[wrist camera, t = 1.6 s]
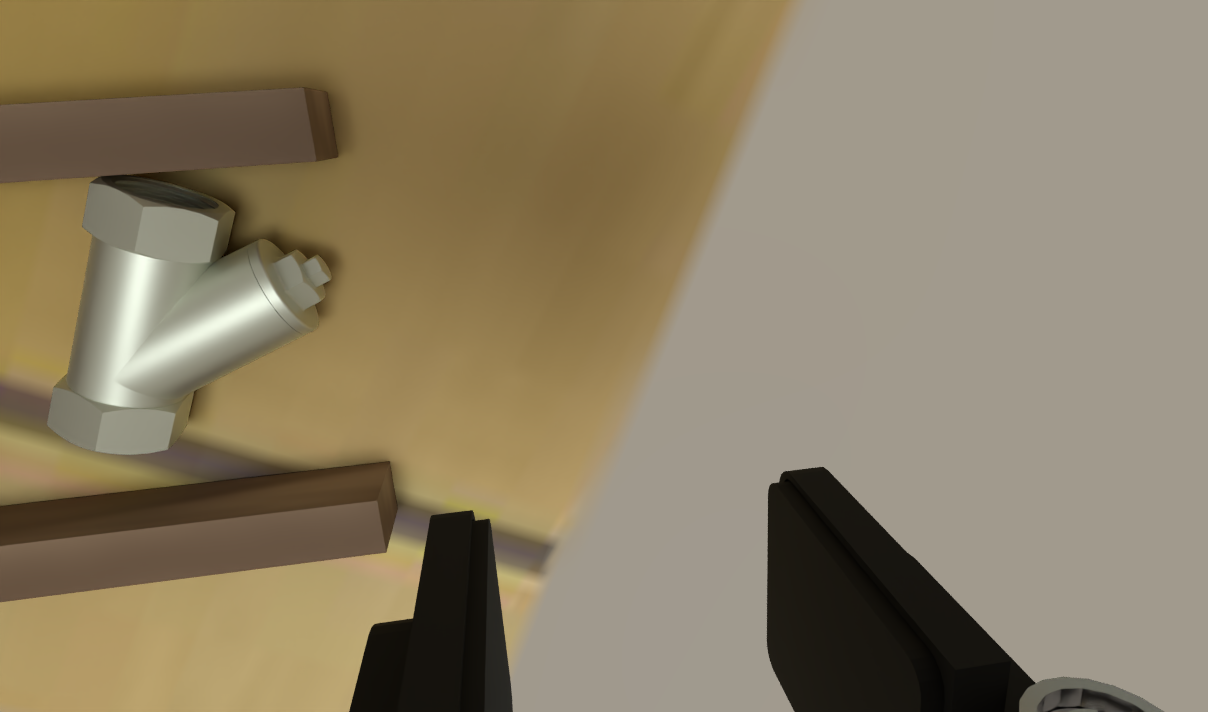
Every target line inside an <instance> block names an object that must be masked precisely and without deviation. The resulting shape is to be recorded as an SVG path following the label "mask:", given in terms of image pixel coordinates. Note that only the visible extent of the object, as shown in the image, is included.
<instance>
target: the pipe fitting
mask: <svg viewBox="0 0 1208 712" xmlns="http://www.w3.org/2000/svg"><path fill="white" fill-rule="evenodd" d="M234 216H235V211H234V210H232V209H231V208H230V207H229V206H227V205H226V204H225V203H223V202H221V201H220V200H218V199H215V198H213V197H211V196H208V195H206V194H203V193H201V192H198V191H195V190H192V189H188V188H185V187H182V186H179V185H175V184H171V183H167V182H163V181H159V180H154V179H149V178H144V177H138V176H132V175H110V176H100V177H98V178H96V179H95V180H93V181H92V182H91V183H90V185H89V191H88V196H87V202H86V208H85V213H84V219H83V225H82V227H83V228H84V229H85V230H87V231H88V232H89V233H90V234H92V240H91V246H90V251H89V257H88V262H87V268H86V273H85V279H84V284H83V290H82V295H81V301H80V306H79V312H78V317H77V323H76V328H75V334H74V339H73V345H72V351H71V356H70V362H69V367H68V373H67V374H66V375H65V376H64V377H63V378H62V379H61V380H60V381H59V382H58V383H57V384H56V385H55V386H54V388H53V394H52V399H51V405H50V411H49V416H48V422H47V426H49V427H50V428H51V429H52V430H53V431H54V432H56V433H57V434H58V435H59V436H61V437H62V438H64V439H65V440H67V441H69V442H70V443H72V444H74V445H76V446H79V447H81V448H84V449H88V450H92V451H96V452H102V453H108V454H120V455H135V454H146V453H153V452H159V451H164V450H168V449H169V448H170V447H171V446H173V444H174V443H175V442H176V441H177V440H178V438H179V437H180V435H181V434H182V432H183V430H184V429H185V427H186V425H187V422H188V417H189V413H190V409H191V404H192V400H193V395H194V391H195V390H197V389H199V388H201V387H203V386H205V385H207V384H209V383H211V382H213V381H215V380H217V379H219V378H221V377H223V376H225V375H227V374H229V373H231V372H233V371H235V370H237V369H239V368H241V367H243V366H245V365H247V364H249V363H251V362H253V361H255V360H257V359H258V358H260V357H262V356H264V355H266V354H268V353H270V352H272V351H274V350H276V349H278V348H280V347H282V346H284V345H286V344H288V343H290V342H292V341H294V340H296V339H298V338H300V337H302V336H304V335H306V334H308V333H310V332H312V331H314V330H316V329H317V327H318V325H319V317H318V312H317V309H316V306H315V304H316V303H318V302H320V301H322V300H323V299H324V297H325V289H324V286H323V284H324V283H326V282H328V281H330V280H331V279H332V275H331V272H330V270H329V268H328V266H327V265H326V263H325V262H324V260H323V259H322V258H321V257H320V256H319V255H316V256H314V257H312V258H310V259H307V258H306V257H305V256H304V255H303V254H302V253H301V252H300V251H298V250H297V249H296V250H294V251H292V252H290V253H288V254H286V255H285V254H284V253H283V252H282V251H281V250H280V249H279V248H278V247H277V246H275V245H274V244H273V243H272V242H270V241H268V240H266V239H259V240H257V241H255V242H253V243H251V244H249V245H247V246H245V247H243V248H241V249H239V250H237V251H235V252H233V253H231V254H229V255H227V256H225V257H223V258H221V257H222V256H223V254H224V253H225V252H226V250H227V247H228V242H229V238H230V234H231V229H232V225H233V220H234ZM220 258H221V259H220Z"/></svg>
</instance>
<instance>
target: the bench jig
mask: <svg viewBox="0 0 1208 712" xmlns="http://www.w3.org/2000/svg"><path fill="white" fill-rule="evenodd" d="M337 157H338V153H337V147H336V141H335V135H334V129H333V124H332V118H331V112H330V106H329V100H328V94H327V92H323V91H318V90H313V89H309V88H304V87H303V88H286V89H268V90H251V91H234V92H216V93H199V94H182V95H164V96H147V97H130V98H112V99H95V100H78V101H60V102H43V103H25V104H8V105H0V183H9V182H23V181H38V180H52V179H67V178H81V177H96V176H110V175H125V174H140V173H154V172H169V171H183V170H198V169H212V168H227V167H241V166H256V165H270V164H285V163H299V162H314V161H321V160H326V159H331V158H337ZM397 509H398V508H397V502H396V497H395V491H394V485H393V479H392V473H391V467H390V462H382V463H374V464H365V465H356V466H348V467H339V468H330V469H322V470H313V471H304V472H295V473H287V474H278V475H269V476H261V477H252V478H243V479H235V480H226V481H217V482H209V483H200V484H191V485H182V486H174V487H165V488H156V489H148V490H139V491H130V492H122V493H113V494H104V495H96V496H87V497H78V498H70V499H61V500H52V501H43V502H35V503H26V504H17V505H9V506H0V602H5V601H13V600H21V599H29V598H36V597H44V596H52V595H60V594H67V593H75V592H83V591H91V590H99V589H106V588H114V587H122V586H130V585H137V584H145V583H153V582H161V581H168V580H176V579H184V578H192V577H199V576H207V575H215V574H223V573H231V572H238V571H246V570H254V569H262V568H269V567H277V566H285V565H293V564H300V563H308V562H316V561H324V560H331V559H339V558H347V557H355V556H363V555H370V554H378V553H386V552H387V548H388V544H389V540H390V536H391V532H392V529H393V525H394V521H395V517H396V513H397Z"/></svg>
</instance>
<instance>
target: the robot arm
mask: <svg viewBox="0 0 1208 712" xmlns="http://www.w3.org/2000/svg"><path fill="white" fill-rule="evenodd" d="M767 582H768V583H767V647H768V654H769V658H770V662H771V664H772V667H773V670H774V672H775V674H776V676H777V678H778V680H779V682H780V684H781V686H782V688H783V690H784V692H785V694H786V696H787V698H788V700H789V701H790V703H791V706H792V707H793V709H794V711H795V712H1164V711H1162V710H1161V709H1159V708H1157V707H1156V706H1154V705H1152V704H1151V703H1149V702H1148V701H1146V700H1144V699H1143V698H1141V697H1139V696H1137V695H1134V694H1132V693H1130V692H1127V691H1125V690H1123V689H1120V688H1118V687H1116V686H1113V685H1109V684H1105V683H1101V682H1098V681H1094V680H1090V679H1081V678H1070V677H1059V678H1053V679H1046V680H1042V681H1040V682H1038V683H1035V682H1034V681H1033V680H1032V679H1031V678H1030V677H1029V676H1028V675H1027V674H1026V673H1025V672H1024V671H1023V670H1022V669H1021V668H1020V667H1019V666H1018V665H1017V664H1016V662H1015V661H1014V660H1013V659H1012V658H1011V657H1009V655H1008V654H1007V653H1006V652H1005V651H1004V650H1003V649H1002V648H1001V647H1000V646H999V645H998V644H997V643H996V642H995V641H994V640H993V639H992V638H991V637H990V636H989V635H988V634H987V632H986V631H985V630H984V629H983V628H982V627H981V626H980V625H979V624H978V623H977V622H976V621H975V620H974V619H973V618H972V617H971V616H970V615H969V614H968V613H967V612H966V611H965V610H964V609H963V608H962V607H961V606H960V605H959V604H958V603H957V602H956V601H955V600H954V598H953V597H952V596H950V594H949V593H948V592H947V591H946V590H945V589H944V588H943V587H942V586H941V585H940V584H939V583H938V582H937V581H936V580H935V579H934V578H933V577H932V576H931V575H930V574H929V573H928V572H927V570H926V569H925V568H924V567H923V566H922V565H921V564H920V563H919V562H918V561H917V560H916V559H915V558H914V557H912V556H911V555H910V554H908V553H907V552H906V551H905V550H904V549H903V548H902V547H901V546H900V545H899V544H898V543H897V542H896V541H895V540H894V539H893V538H892V537H891V536H890V535H889V534H888V532H887V531H886V530H885V529H884V528H883V527H882V526H881V525H880V524H879V523H878V522H877V521H876V520H875V519H874V518H873V517H872V516H871V515H870V514H869V513H868V512H867V511H866V510H865V508H864V507H863V506H862V505H861V504H859V502H858V501H857V500H856V499H855V498H854V497H853V496H852V495H851V494H850V493H849V492H848V491H847V490H846V489H845V488H844V487H843V486H842V485H841V484H840V482H839V481H838V480H837V479H836V478H834V476H833V475H832V474H831V473H830V472H829V471H828V470H827V469H825V468H824V467H818V468H809V469H802V470H793V471H785V472H783V473H782V474H781V477H780V482H779V483H772V484H771V485H770V487H769V491H768V579H767ZM349 712H513V710H512V693H511V683H510V674H509V666H508V658H507V650H506V642H505V634H504V626H503V618H502V610H501V602H500V594H499V586H498V578H497V570H496V562H495V554H494V546H493V538H492V530H491V524H490V519H485V520H477V521H475V517H474V512H473V510H470V511H462V512H454V513H446V514H438V515H432V516H431V518H430V523H429V529H428V535H427V541H426V546H425V552H424V558H423V564H422V570H421V576H420V581H419V587H418V593H417V599H416V605H415V611H414V616H413V619H406V620H399V621H392V622H385V623H378V624H374V625H373V626H372V628H371V630H370V633H369V636H368V640H367V644H366V648H365V652H364V656H363V660H362V663H361V667H360V671H359V675H358V679H357V683H356V687H355V691H354V695H353V699H352V703H351V707H350V711H349Z"/></svg>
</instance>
